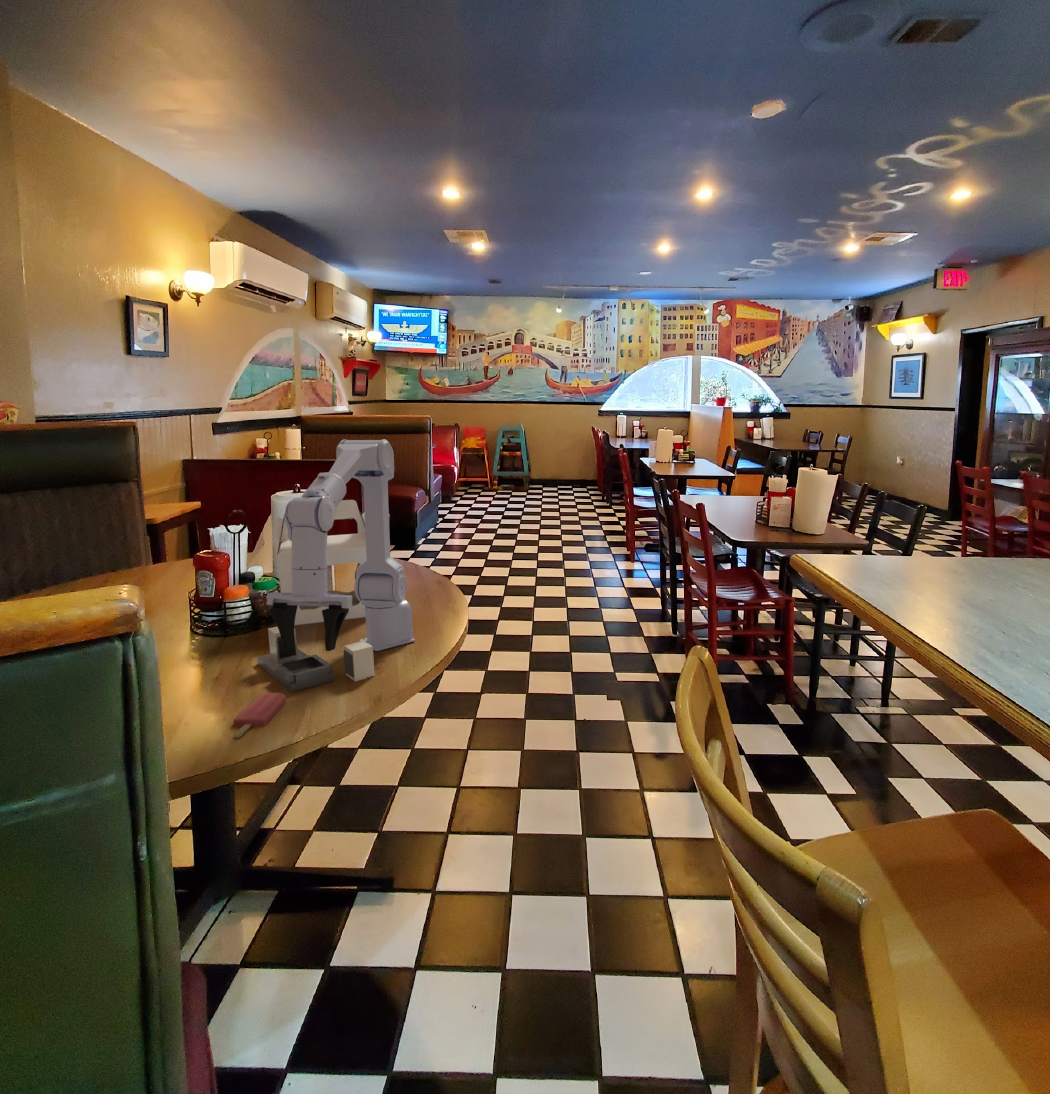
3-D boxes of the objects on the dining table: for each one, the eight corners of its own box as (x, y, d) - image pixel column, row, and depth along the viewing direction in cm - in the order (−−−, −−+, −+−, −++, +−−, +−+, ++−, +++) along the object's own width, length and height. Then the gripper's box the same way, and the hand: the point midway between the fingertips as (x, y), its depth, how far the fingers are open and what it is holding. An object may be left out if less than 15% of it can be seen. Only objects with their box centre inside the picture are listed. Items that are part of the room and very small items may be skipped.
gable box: (372, 601, 179) (365, 495, 173) (379, 616, 167) (372, 502, 161) (282, 611, 172) (272, 500, 166) (282, 627, 160) (271, 508, 154)
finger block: (365, 669, 134) (363, 640, 133) (374, 675, 131) (372, 646, 130) (344, 675, 131) (342, 646, 130) (353, 682, 128) (351, 651, 127)
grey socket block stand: (296, 654, 142) (293, 619, 141) (333, 680, 129) (330, 642, 127) (257, 663, 137) (254, 628, 136) (291, 692, 124) (287, 653, 122)
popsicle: (219, 732, 107) (261, 691, 122) (220, 741, 107) (262, 700, 122) (252, 732, 107) (290, 692, 121) (253, 742, 107) (291, 700, 122)
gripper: (256, 568, 112) (256, 650, 113) (339, 571, 110) (338, 655, 110) (279, 565, 119) (279, 643, 120) (357, 568, 117) (357, 647, 117)
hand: (309, 648), depth 116 cm, fingers open, 7 cm apart
